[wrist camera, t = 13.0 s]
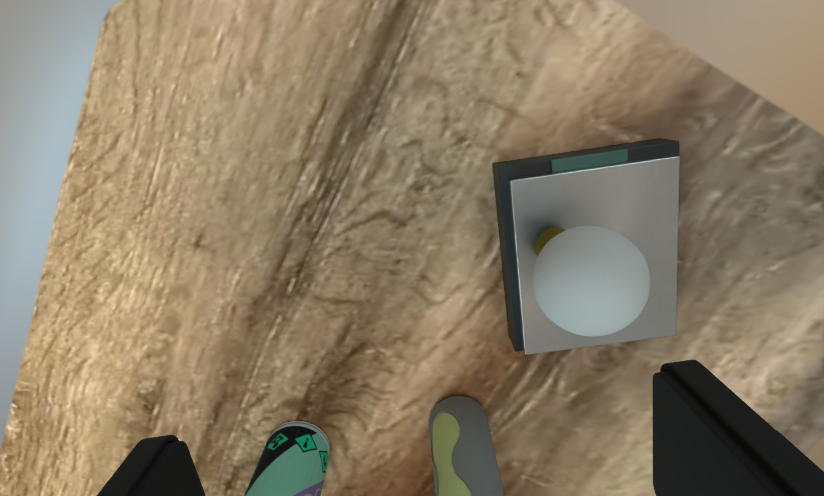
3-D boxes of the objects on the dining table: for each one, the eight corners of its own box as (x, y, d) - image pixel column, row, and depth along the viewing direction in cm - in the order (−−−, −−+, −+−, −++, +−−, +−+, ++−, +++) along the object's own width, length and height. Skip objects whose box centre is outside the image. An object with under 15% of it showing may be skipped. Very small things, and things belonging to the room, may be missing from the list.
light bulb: (612, 235, 32) (700, 291, 22) (554, 299, 33) (612, 378, 24) (547, 182, 31) (610, 218, 21) (490, 251, 32) (524, 314, 22)
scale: (492, 163, 34) (501, 169, 30) (660, 138, 33) (688, 142, 30) (508, 336, 38) (518, 358, 34) (658, 316, 37) (683, 337, 34)
